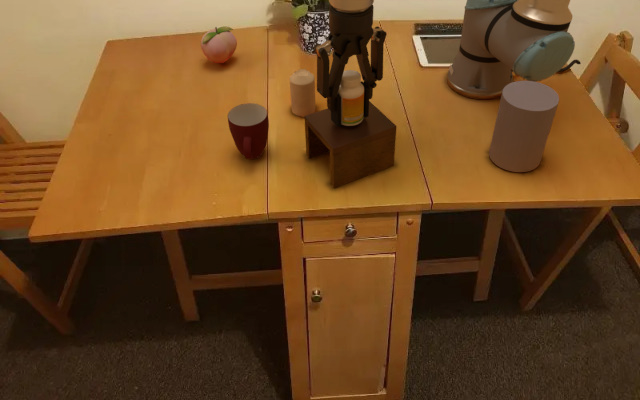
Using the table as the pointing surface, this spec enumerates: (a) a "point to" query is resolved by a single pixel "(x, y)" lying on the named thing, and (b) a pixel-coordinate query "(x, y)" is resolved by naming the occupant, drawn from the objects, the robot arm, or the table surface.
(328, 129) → the shelf
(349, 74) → the supplement bottle
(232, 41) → the decorative fruit
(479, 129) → the table surface
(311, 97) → the candle
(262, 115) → the mug
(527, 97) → the container
